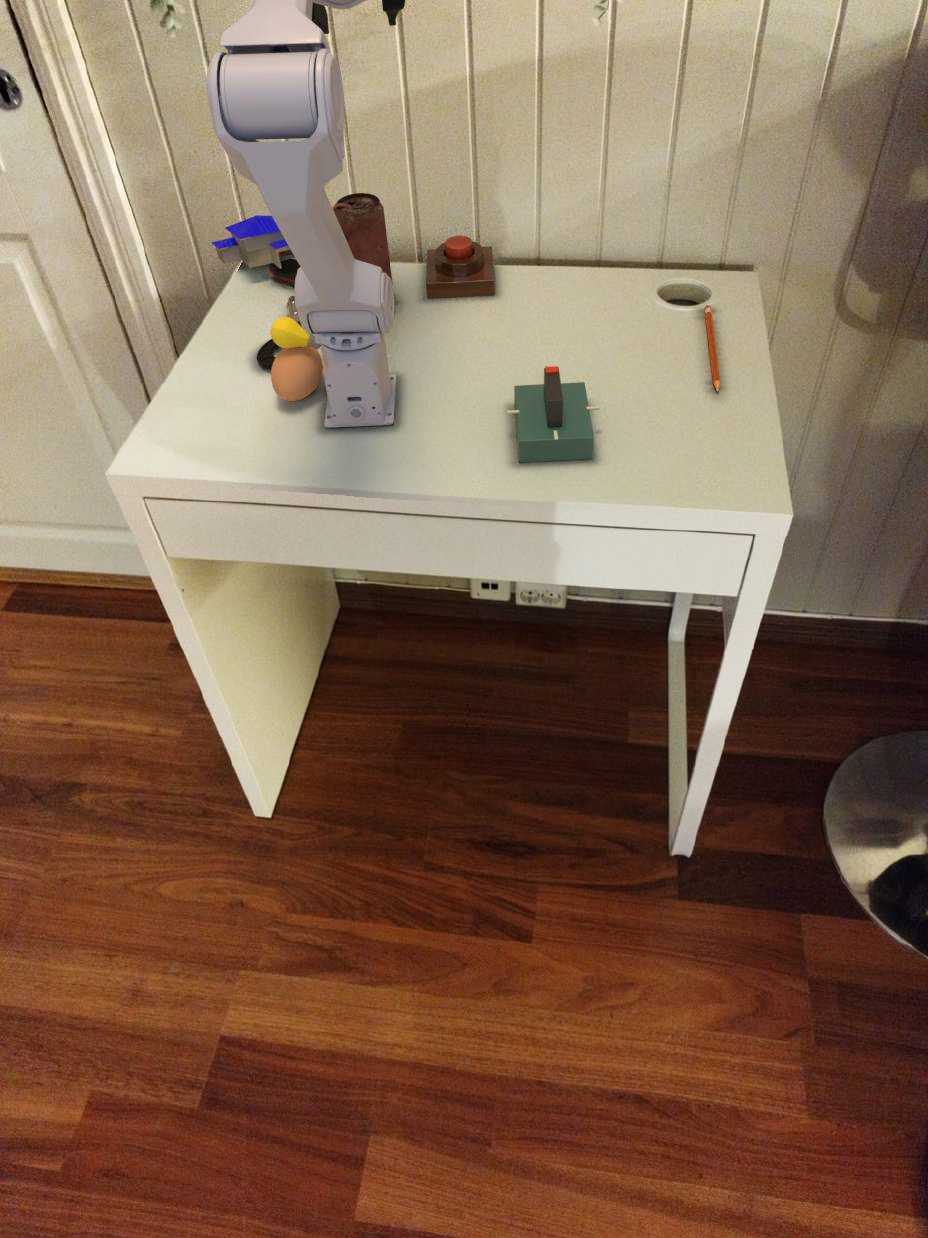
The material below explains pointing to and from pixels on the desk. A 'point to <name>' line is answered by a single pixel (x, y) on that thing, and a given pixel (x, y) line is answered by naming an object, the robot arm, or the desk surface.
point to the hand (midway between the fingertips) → (358, 20)
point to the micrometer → (270, 346)
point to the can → (364, 228)
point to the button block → (460, 273)
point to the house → (254, 243)
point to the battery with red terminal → (553, 396)
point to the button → (458, 247)
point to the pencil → (712, 347)
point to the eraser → (285, 271)
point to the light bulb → (291, 334)
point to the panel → (553, 441)
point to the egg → (296, 372)
